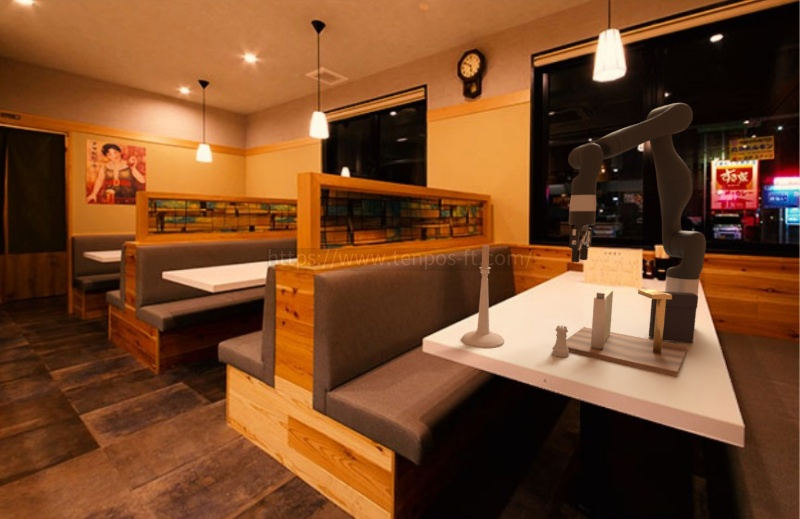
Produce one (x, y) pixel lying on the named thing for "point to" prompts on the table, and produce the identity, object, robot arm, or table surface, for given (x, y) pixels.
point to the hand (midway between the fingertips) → (579, 260)
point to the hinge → (601, 318)
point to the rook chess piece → (561, 342)
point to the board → (630, 351)
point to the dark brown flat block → (676, 317)
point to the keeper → (657, 315)
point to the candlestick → (483, 313)
